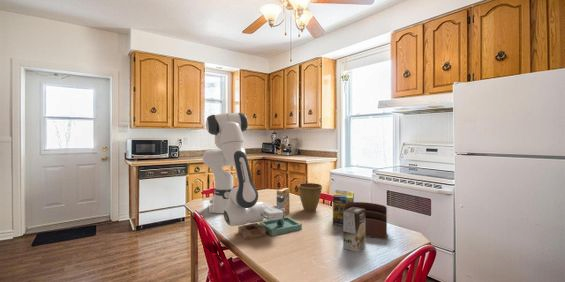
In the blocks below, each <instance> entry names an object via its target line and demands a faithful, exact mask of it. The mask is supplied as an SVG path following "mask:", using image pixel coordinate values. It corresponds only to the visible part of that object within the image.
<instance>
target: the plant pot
mask: <svg viewBox="0 0 565 282" xmlns="http://www.w3.org/2000/svg"><path fill="white" fill-rule="evenodd" d="M297 187H298V192H299V193H298V194H299V199H300V203H301V205H302V209H303V211H305V212H309V213H313V212H316V210H317V208H318V205H319V202H320V199H321V195H322V190H323V185H322V184H319V183H313V182H304V183H303V182H302V183H299V184H298V186H297Z"/></svg>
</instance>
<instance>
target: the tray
mask: <svg viewBox="0 0 565 282" xmlns="http://www.w3.org/2000/svg"><path fill="white" fill-rule="evenodd" d="M259 225H260V226H262V227H263V228H264V229H265V233H267V234H269V235H270V236H271V237H273V235H274V236H278V235H281V234H286V233H291V232H296V231H300V230H302V229H303V228H302V227H303V226H302V225H303V224H302V223H301V222H298V221H297V220H294V219H293V218H292V217H289V216H284V225H281V226H279V225H277V220H267V219H266V220H263V221H261V222H259Z"/></svg>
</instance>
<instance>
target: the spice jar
mask: <svg viewBox="0 0 565 282" xmlns="http://www.w3.org/2000/svg"><path fill="white" fill-rule="evenodd" d="M276 205H277V209H281V208H284V197H283V196H278V197H277V196H276ZM284 217H285V216H284V212H283V218H282V219H280V220H277V225H279V226H281V225H284Z"/></svg>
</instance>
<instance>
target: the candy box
mask: <svg viewBox="0 0 565 282" xmlns="http://www.w3.org/2000/svg"><path fill="white" fill-rule="evenodd" d="M278 196H283V197H284V209H285V212H284V217H286V216H287V215H289V214H290V213H291V211H290V206H291V205H290V188H288V187H282V188H280V189H278V190H276V198H277V197H278Z"/></svg>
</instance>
